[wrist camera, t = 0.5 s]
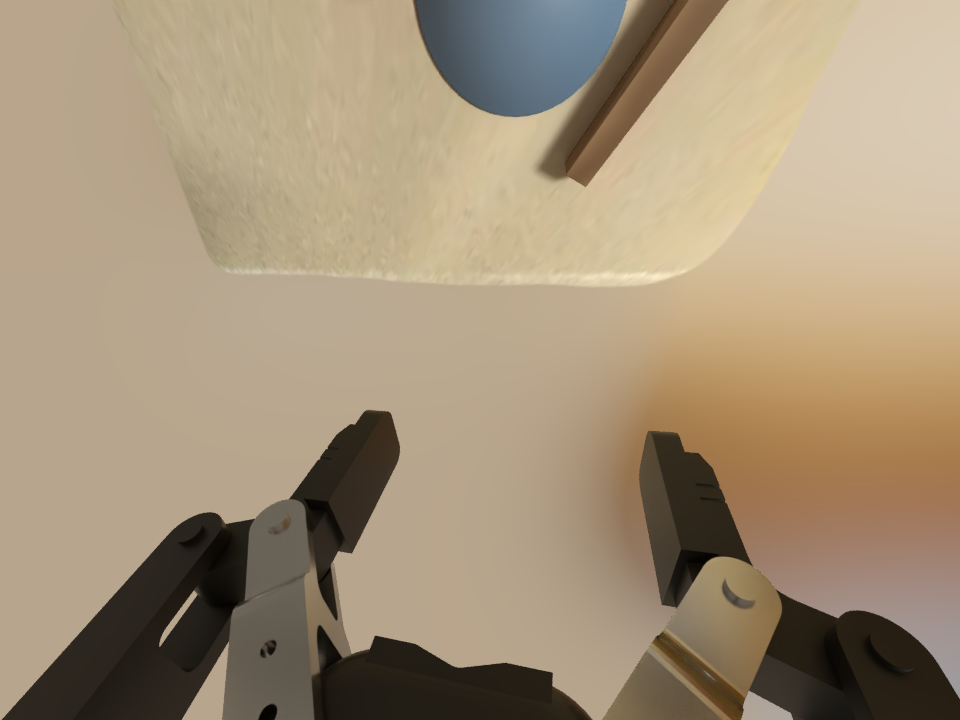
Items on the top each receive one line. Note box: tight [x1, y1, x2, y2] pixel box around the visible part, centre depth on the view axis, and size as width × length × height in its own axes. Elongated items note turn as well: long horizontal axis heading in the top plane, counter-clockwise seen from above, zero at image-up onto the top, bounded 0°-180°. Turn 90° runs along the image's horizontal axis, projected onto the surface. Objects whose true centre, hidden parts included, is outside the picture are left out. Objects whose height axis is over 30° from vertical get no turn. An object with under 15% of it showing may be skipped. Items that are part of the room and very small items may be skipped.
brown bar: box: [566, 0, 728, 187], centre depth 27 cm, size 2×14×2 cm, turn 153°
